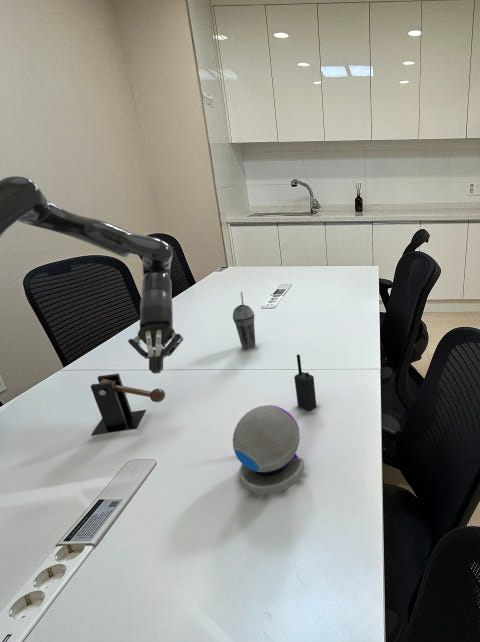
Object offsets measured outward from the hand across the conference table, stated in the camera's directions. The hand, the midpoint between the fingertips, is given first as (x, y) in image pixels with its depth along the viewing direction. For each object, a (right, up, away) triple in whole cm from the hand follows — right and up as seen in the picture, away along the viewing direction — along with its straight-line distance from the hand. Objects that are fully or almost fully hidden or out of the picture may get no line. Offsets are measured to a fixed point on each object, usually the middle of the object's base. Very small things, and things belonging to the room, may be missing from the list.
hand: (155, 372), depth 97 cm
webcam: (+33, -19, -15) cm, 41 cm away
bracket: (-9, -13, +1) cm, 16 cm away
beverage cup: (+10, +5, +41) cm, 43 cm away
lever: (-5, -6, -2) cm, 8 cm away
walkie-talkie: (+37, -10, +6) cm, 38 cm away
